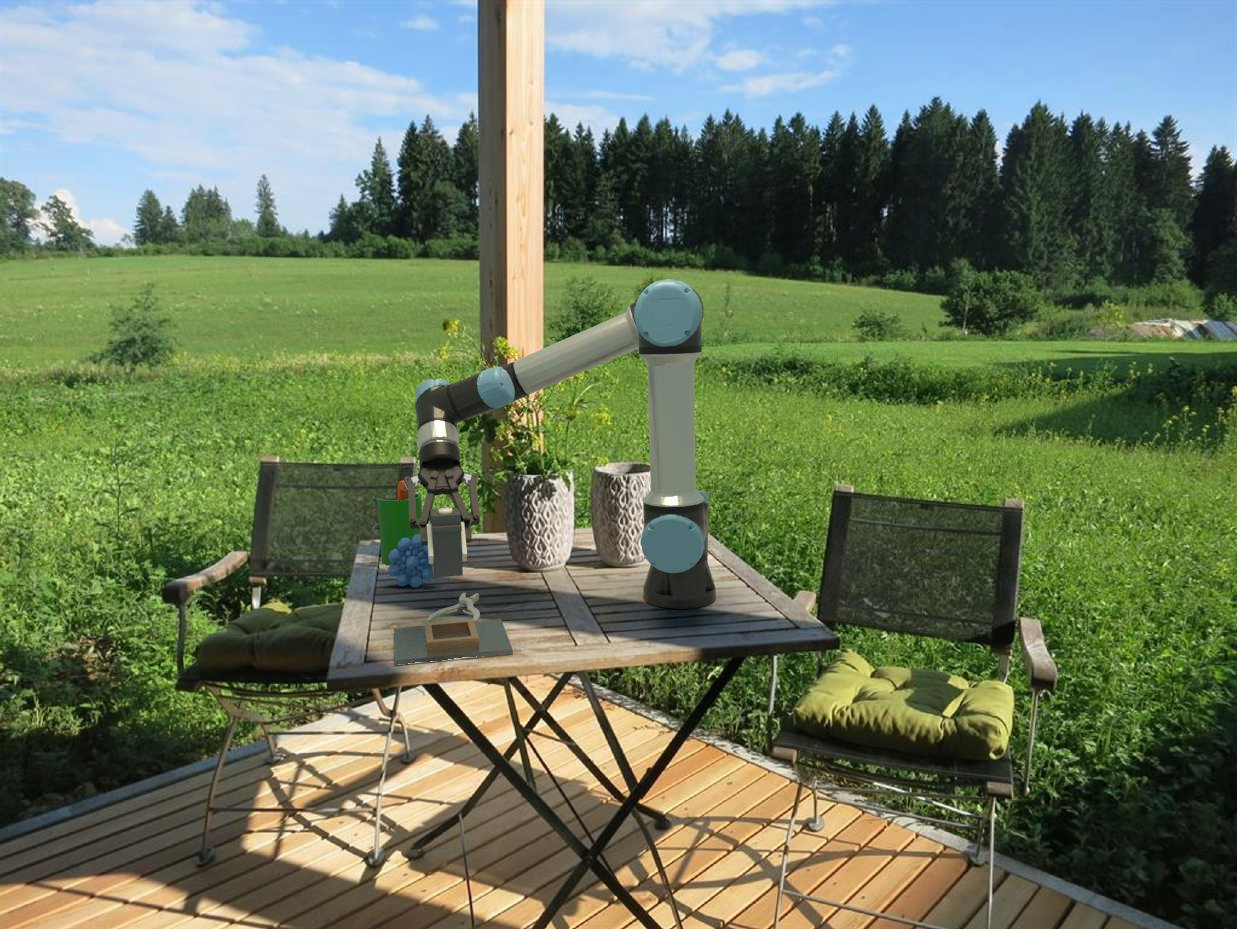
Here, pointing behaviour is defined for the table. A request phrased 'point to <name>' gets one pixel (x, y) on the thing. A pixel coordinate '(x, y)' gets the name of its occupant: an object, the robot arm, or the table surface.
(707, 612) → the table surface
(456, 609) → the pliers
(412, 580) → the grapes
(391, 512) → the green pencil holder
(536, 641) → the table surface
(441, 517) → the servo
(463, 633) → the plate
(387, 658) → the table surface
